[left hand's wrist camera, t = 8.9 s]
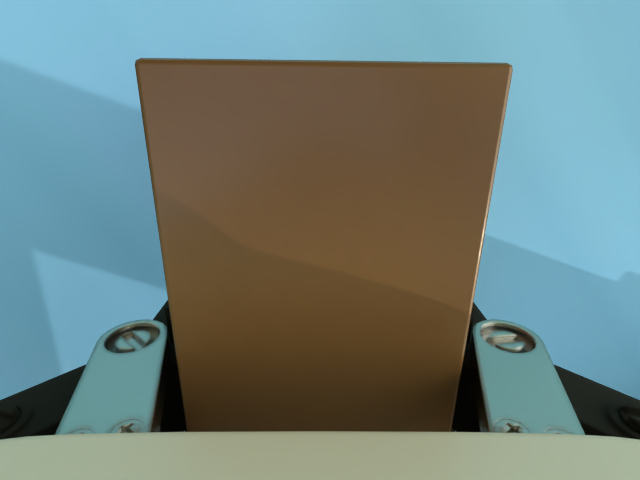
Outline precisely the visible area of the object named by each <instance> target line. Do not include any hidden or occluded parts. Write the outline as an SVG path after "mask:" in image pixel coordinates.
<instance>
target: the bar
mask: <svg viewBox="0 0 640 480" xmlns="http://www.w3.org/2000/svg"><path fill="white" fill-rule="evenodd" d="M135 68H136V75H137V82H138V90H139V97H140V104H141V111H142V118H143V125H144V132H145V139H146V146H147V153H148V160H149V167H150V174H151V181H152V188H153V196H154V203H155V210H156V217H157V224H158V231H159V238H160V245H161V252H162V259H163V266H164V273H165V280H166V287H167V294H168V302H169V309H170V316H171V323H172V330H173V337H174V344H175V351H176V358H177V365H178V372H179V379H180V386H181V393H182V400H183V408H184V415H185V422H186V429H187V432H277V431H363V432H451V428H452V423H453V417H454V411H455V405H456V399H457V393H458V387H459V382H460V376H461V370H462V364H463V358H464V352H465V346H466V340H467V335H468V329H469V323H470V317H471V311H472V305H473V299H474V294H475V288H476V282H477V276H478V270H479V264H480V258H481V252H482V247H483V241H484V235H485V229H486V223H487V217H488V211H489V206H490V200H491V194H492V188H493V182H494V176H495V170H496V164H497V159H498V153H499V147H500V141H501V135H502V129H503V123H504V117H505V112H506V106H507V100H508V94H509V88H510V82H511V76H512V71H513V70H512V65H510V64H508V63H473V62H398V61H322V60H247V59H172V58H140V59H138V60H136V62H135Z"/></svg>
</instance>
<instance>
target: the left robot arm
mask: <svg viewBox="0 0 640 480" xmlns="http://www.w3.org/2000/svg"><path fill="white" fill-rule="evenodd" d="M184 431H185V432H184ZM455 431H456V432H455ZM0 480H640V400H637V399H635V398H633V397H630V396H628V395H625V394H623V393H621V392H618V391H616V390H613V389H611V388H609V387H606V386H604V385H602V384H599V383H597V382H594V381H592V380H590V379H587V378H585V377H582V376H580V375H578V374H575V373H573V372H570V371H568V370H566V369H563V368H561V367H558V366H556V365H554V364H553V363H552V361H551V358H550V356H549V354H548V352H547V350H546V347H545V345H544V343H543V341H542V340H541V339H540V337H539V336H538V335H537V334H535V333H534V332H533V331H531V330H529V329H528V328H526V327H524V326H521V325H519V324H516V323H513V322H509V321H504V320H486V318H485V317H484V316H483V314H482V313H481V312H480V310H479V309H478V308H477V306H476V305H475V304H474V302H473V305H472V311H471V317H470V323H469V329H468V335H467V340H466V346H465V352H464V358H463V364H462V370H461V376H460V382H459V387H458V393H457V399H456V405H455V411H454V417H453V423H452V428H451V432H363V431H277V432H187V429H186V422H185V415H184V408H183V400H182V393H181V386H180V379H179V372H178V365H177V358H176V351H175V344H174V337H173V330H172V323H171V316H170V309H169V302H168V300H167V302H166V303H165V304H164V306H163V307H162V308H161V310H160V311H159V312H158V314H157V315H156V316H155V318H154V319H153V320H136V321H131V322H127V323H124V324H121V325H119V326H116V327H114V328H112V329H111V330H109V331H107V332H106V333H105V334H103V335H102V336H101V337H100V339H99V340H98V341H97V343H96V345H95V347H94V350H93V352H92V354H91V356H90V358H89V361H88V363H87V364H86V365H84V366H81V367H79V368H77V369H74V370H72V371H69V372H67V373H65V374H62V375H60V376H57V377H55V378H53V379H50V380H48V381H45V382H43V383H41V384H38V385H36V386H33V387H31V388H29V389H26V390H24V391H21V392H19V393H17V394H14V395H12V396H10V397H7V398H5V399H2V400H0Z"/></svg>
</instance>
